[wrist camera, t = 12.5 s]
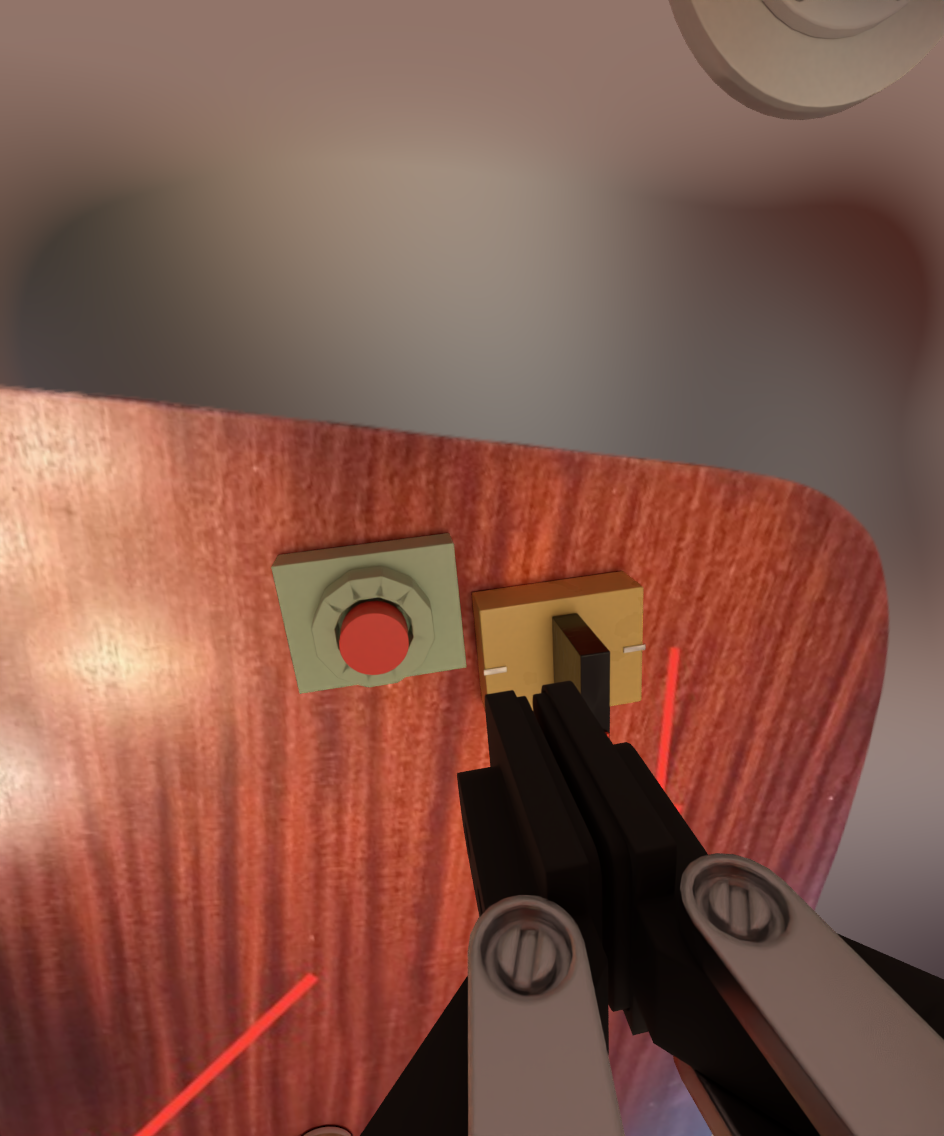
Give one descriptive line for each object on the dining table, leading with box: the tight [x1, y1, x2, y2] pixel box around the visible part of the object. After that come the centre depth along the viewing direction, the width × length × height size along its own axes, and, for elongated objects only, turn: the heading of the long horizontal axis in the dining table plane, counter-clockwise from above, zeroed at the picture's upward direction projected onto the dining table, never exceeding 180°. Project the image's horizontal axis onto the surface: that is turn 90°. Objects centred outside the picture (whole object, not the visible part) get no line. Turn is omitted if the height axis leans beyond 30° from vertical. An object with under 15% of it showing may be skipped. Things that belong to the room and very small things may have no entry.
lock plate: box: [472, 571, 645, 710], centre depth 35 cm, size 10×8×3 cm
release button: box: [339, 601, 409, 675], centre depth 29 cm, size 4×4×2 cm
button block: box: [271, 533, 466, 694], centre depth 32 cm, size 10×8×4 cm
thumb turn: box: [552, 613, 610, 739], centre depth 31 cm, size 6×2×5 cm, turn 4°
